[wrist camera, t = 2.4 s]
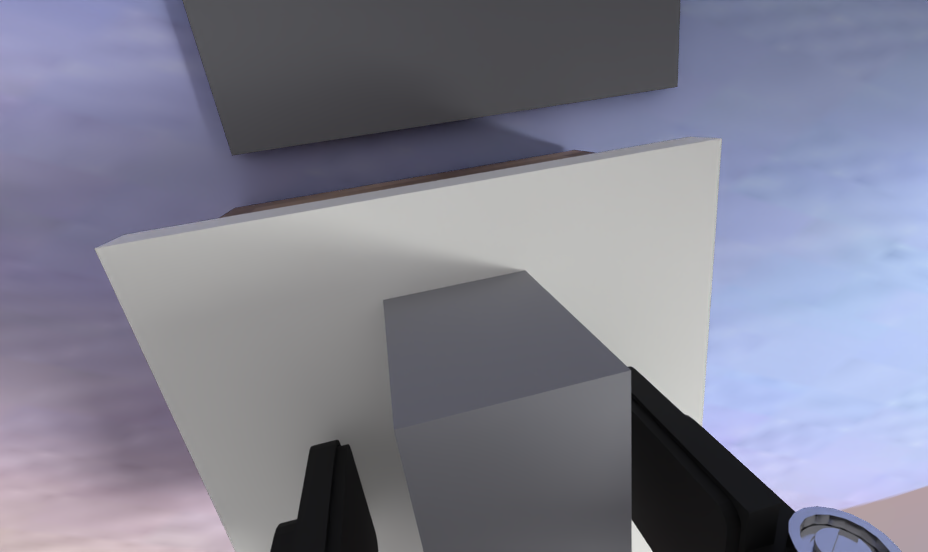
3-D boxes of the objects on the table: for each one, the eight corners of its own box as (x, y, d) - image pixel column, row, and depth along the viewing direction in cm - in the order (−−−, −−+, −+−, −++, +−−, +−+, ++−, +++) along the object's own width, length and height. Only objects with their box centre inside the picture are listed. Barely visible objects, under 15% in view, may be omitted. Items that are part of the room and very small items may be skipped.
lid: (689, 136, 10) (963, 149, 5) (672, 517, 14) (818, 706, 10) (125, 234, 8) (-179, 375, 4) (297, 633, 13) (256, 930, 8)
